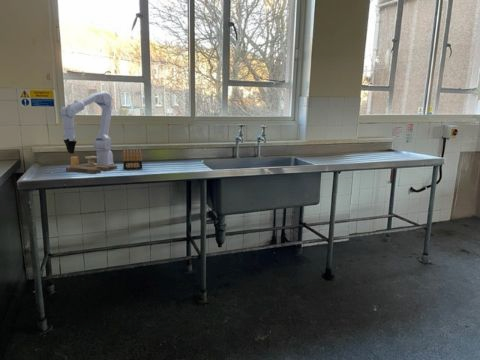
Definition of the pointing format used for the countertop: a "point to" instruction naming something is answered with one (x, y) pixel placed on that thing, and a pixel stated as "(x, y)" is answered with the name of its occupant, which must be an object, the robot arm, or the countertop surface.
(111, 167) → the notched board
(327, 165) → the countertop surface
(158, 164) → the countertop surface
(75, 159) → the block
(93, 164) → the mushroom shaped handle
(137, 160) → the ammunition clip
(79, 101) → the robot arm
